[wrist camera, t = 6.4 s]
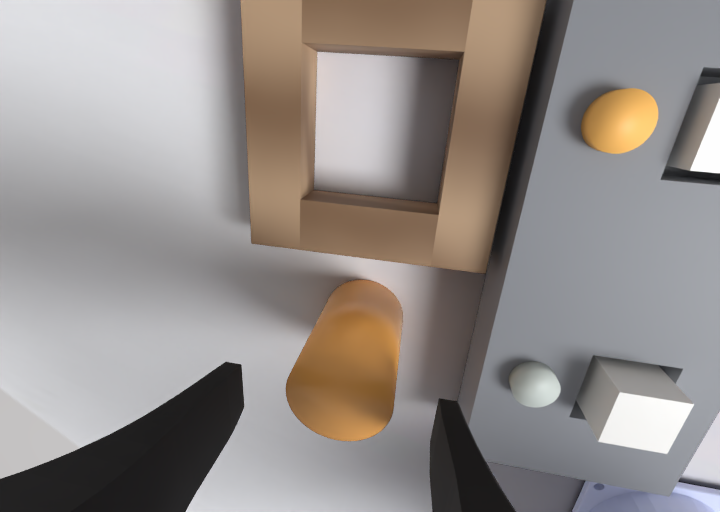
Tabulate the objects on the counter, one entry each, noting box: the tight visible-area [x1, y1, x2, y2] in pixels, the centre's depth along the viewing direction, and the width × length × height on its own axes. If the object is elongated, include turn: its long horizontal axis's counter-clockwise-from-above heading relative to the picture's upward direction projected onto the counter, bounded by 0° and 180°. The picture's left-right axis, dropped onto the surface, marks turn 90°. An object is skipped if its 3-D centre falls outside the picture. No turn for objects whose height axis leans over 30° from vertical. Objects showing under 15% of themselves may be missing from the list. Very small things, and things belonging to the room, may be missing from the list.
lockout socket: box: [241, 0, 546, 274], centre depth 14 cm, size 10×10×2 cm
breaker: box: [576, 355, 694, 454], centre depth 14 cm, size 2×2×2 cm
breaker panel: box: [458, 0, 720, 497], centre depth 14 cm, size 20×9×4 cm, turn 176°
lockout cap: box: [286, 280, 403, 441], centre depth 16 cm, size 4×4×6 cm
